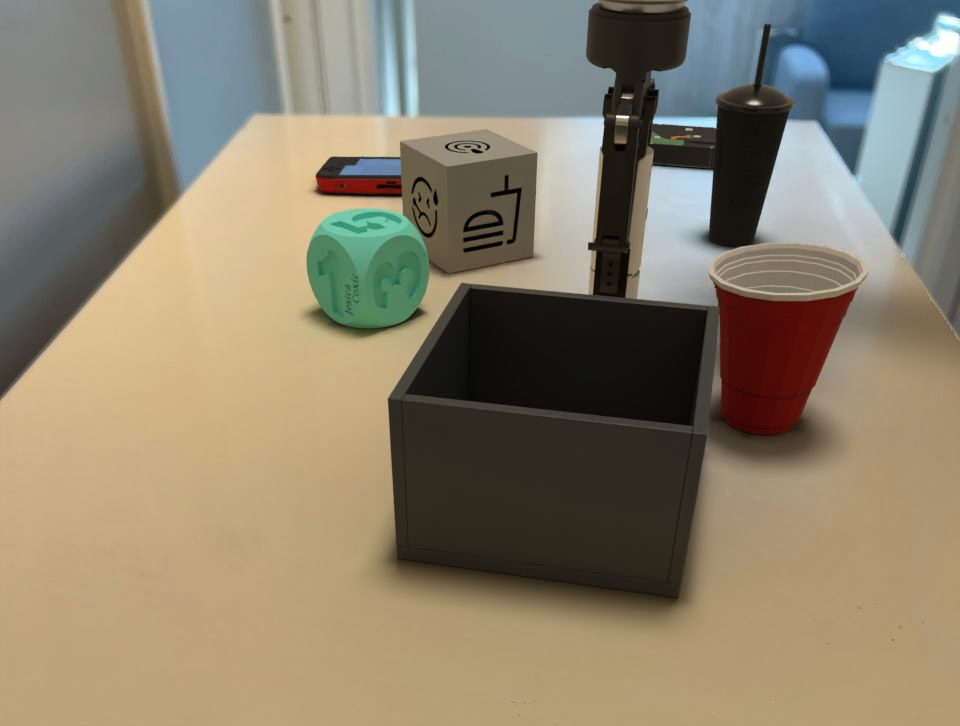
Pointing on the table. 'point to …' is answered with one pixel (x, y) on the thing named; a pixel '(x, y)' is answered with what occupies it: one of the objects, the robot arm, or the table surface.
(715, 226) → the drinking cup
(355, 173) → the game console
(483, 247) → the icon cube
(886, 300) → the table surface
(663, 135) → the disk drive
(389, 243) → the decorative dice
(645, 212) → the tube
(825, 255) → the plastic cup
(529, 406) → the bin
